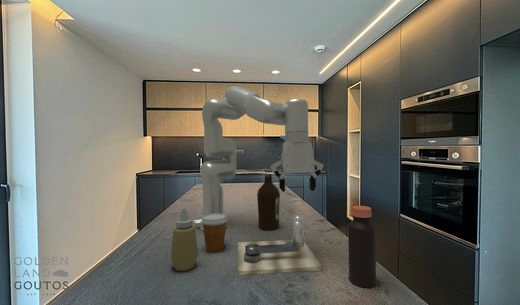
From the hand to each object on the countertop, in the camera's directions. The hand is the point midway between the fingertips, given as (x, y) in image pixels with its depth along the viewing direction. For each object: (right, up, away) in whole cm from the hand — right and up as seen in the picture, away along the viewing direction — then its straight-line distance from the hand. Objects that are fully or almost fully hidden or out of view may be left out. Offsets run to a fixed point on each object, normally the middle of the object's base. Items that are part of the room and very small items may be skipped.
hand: (297, 190), depth 77 cm
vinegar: (+15, -23, -13) cm, 30 cm away
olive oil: (-8, -23, +34) cm, 42 cm away
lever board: (-7, -23, +3) cm, 24 cm away
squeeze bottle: (-36, -23, -3) cm, 43 cm away
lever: (-7, -20, -1) cm, 21 cm away
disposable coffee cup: (-29, -23, +10) cm, 38 cm away
